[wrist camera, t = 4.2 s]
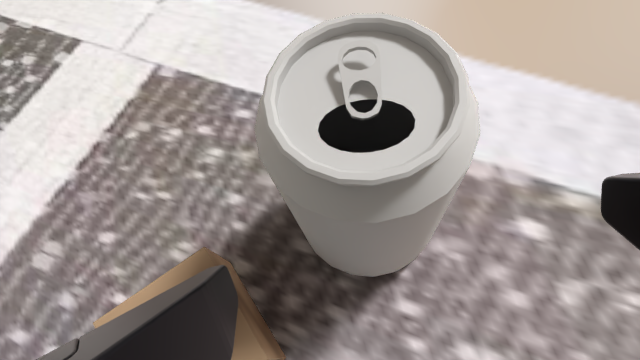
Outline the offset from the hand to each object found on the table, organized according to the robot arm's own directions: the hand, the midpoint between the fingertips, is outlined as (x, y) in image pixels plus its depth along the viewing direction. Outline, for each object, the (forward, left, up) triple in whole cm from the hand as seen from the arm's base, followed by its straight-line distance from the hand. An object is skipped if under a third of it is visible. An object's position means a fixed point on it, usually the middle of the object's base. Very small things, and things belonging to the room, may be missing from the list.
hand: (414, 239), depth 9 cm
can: (+4, -2, -12) cm, 13 cm away
